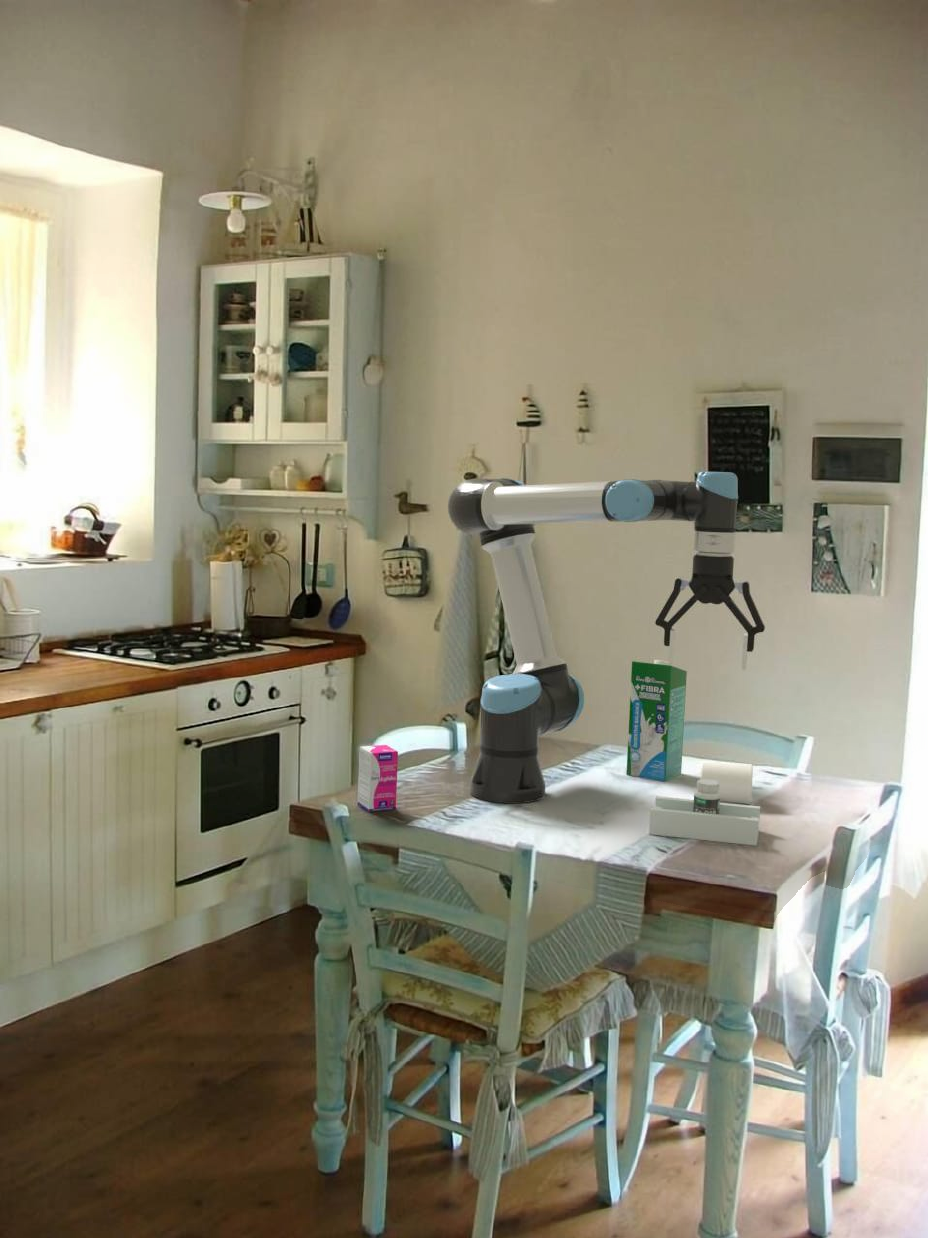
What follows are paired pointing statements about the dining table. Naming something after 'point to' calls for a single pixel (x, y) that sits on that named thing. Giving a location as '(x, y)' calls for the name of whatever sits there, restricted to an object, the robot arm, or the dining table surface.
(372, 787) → the supplement box
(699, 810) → the pill bottle
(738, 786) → the mug
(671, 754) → the milk carton
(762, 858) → the dining table surface
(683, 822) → the tray
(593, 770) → the dining table surface
